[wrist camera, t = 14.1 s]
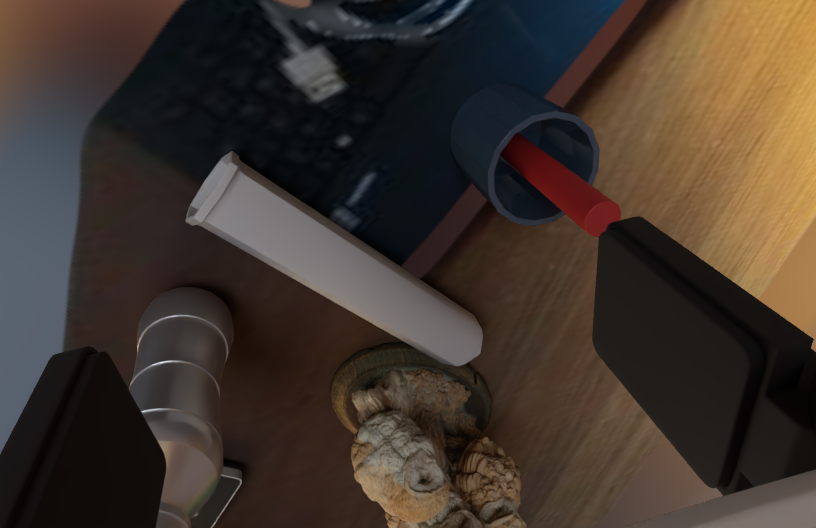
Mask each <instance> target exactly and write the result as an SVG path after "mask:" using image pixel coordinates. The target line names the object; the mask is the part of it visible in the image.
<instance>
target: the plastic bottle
mask: <svg viewBox="0 0 816 528" xmlns="http://www.w3.org/2000/svg"><path fill="white" fill-rule="evenodd" d="M233 339H234V327H233V322H232V318H231V314H230V311H229V309H228V307H227V306H226V305H225V303H224V302H223V301H222V300H221V299H220V298H219V297H217V296H216V295H214V294H213V293H211V292H208V291H206V290H203V289H199V288H195V287H181V288H175V289H171V290H168V291H166V292H164V293H162V294H160V295H159V296H158V297H156V298H155V299H154V300H153V301H152V302H151V304H150V305H149V306H148V308H147V309H146V311H145V312H144V313H143V315H142V317H141V319H140V322H139V326H138V334H137V358H136V364H135V369H134V375H133V378H132V381H131V383H130V387H129V391H130V393H131V395H132V396H133V398H134V400H135V402H136V404H137V405H138V407H139V409H140V411H141V413H142V414H143V416H144V418H145V420H146V421H147V423H148V425H149V427H150V429H151V430H152V432H153V434H154V436H155V437H156V439H157V441H158V443H159V445H160V446H161V448H162V450H163V452H164V455H165V459H166V475H165V480H164V486H163V491H162V496H161V502H160V507H159V513H158V518H157V523H156V528H191V521H190V519H191V518H192V517H193V516H194V515H195V514H196V513H197V512H198V511H199V510H200V509H201V508H202V506H203V505H204V504H205V503H206V502H207V501H208V499H209V498H210V497H211V495H212V494H213V492H214V491H215V488H216V486H217V484H218V482H219V479H220V477H221V474H222V471H223V447H222V436H221V427H220V417H219V400H220V384H221V379H222V375H223V370H224V366H225V362H226V360H227V358H228V356H229V353H230V350H231V346H232V343H233Z"/></svg>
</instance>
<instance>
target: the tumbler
mask: <svg viewBox="0 0 816 528" xmlns="http://www.w3.org/2000/svg"><path fill="white" fill-rule="evenodd" d="M516 133H519V134H521V135H522V136H524V137H525V138H526V139H528V140H529V141H530V142H532V143H533V144H535V145H536V146H537V147H539V148H540V149H541V150H543V151H544V152H546V153H547V154H548V155H550V156H551V157H553V158H554V159H555V160H557V161H558V162H559V163H561V164H562V165H564V166H565V167H566V168H568V169H569V170H571V171H572V172H573V173H575V174H576V175H577V176H579V177H580V178H582V179H583V180H584V181H586V182H587V183H588V184H590V185H591V186H592V184H593V181H594V179H595V177H596V174H597V172H598V164H599V146H598V144H597V141H596V138H595V135H594V133H593V130H592V129H591V128H590V127H589V126H588V125H587V124H586V123H585V122H584V121H582V120H581V119H580V118H579V117H578V116H576V115H574V114H573V113H571V112H569V111H567V110H565V109H563V108H561V107H560V106H558V105H556V104H554V103H552V102H550V101H548V100H546V99H545V98H543V97H541V96H539V95H537V94H535V93H533V92H531V91H530V90H528V89H526V88H523V87H520V86H517V85H514V84H509V83H498V84H492V85H489V86H486V87H484V88H481V89H480V90H478V91H476V92H475V93H473V94H472V95H471V96H470V97H469V98H468V99H467V100H465V102H464V103H463V104H462V105H461V107H460V108H459V110H458V111H457V113H456V115H455V117H454V119H453V122H452V125H451V130H450V149H451V152H452V156H453V158H454V160H455V162H456V163H457V165H458V166H459V167H460V169H461V171H462V172H463V173H464V174H465V175H466V177H467V178H468V179H469V180H470V181H471V182H472V183H473V184H474V186H475V187H476V188H477V189H478V190H479V191H480V192H481V193H482V194H483V196H484V197H485V198H486V199H487V200H488V201H489V202H490V203H491V205H492V206H493V207H494V208H495V209H496V210H497V211H498V212H499V213H500V214H501V215H503V216H504V217H506V218H507V219H509V220H510V221H512V222H513V223H517V224H523V225H530V226H536V225H541V224H545V223H549V222H553V221H556V220H557V219H559V218H561V217H562V216H564V215H565V213H564V212H563V211H562V210H561V209H559V208H558V207H557V206H556V205H555V204H554V203H553V202H552V201H550V200H549V199H548V198H547V197H546V196H545V195H544V194H542V193H541V192H540V191H539V190H538V189H537V188H536V187H534V186H533V185H532V184H531V183H530V182H529V181H528V180H526V179H525V178H524V177H523V176H522V175H521V174H520V173H519V172H517V171H516V170H515V169H514V168H513V167H512V166H511V165H509V164H508V163H507V162H506V161H505V160H504V159H503V158H501V157H500V154H501V152H502V150H503V149H504V148H505V147H506V145H507V144H508V143H509V142H510V140H511V139H512V138H513V136H514V135H515V134H516Z"/></svg>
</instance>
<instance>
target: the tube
mask: <svg viewBox="0 0 816 528" xmlns="http://www.w3.org/2000/svg"><path fill="white" fill-rule="evenodd" d="M185 221H186V222H187V223H189V224H191V225H192V226H193V225H196V224H197V225H199V226H201V227H203V228H205V229H207V230H209V231H210V232H212V233H214V234H216V235H217V236H219V237H221V238H223V239H224V240H226V241H228V242H230V243H232V244H233V245H235V246H237V247H239V248H240V249H242V250H244V251H246V252H247V253H249V254H251V255H253V256H254V257H256V258H258V259H260V260H261V261H263V262H265V263H267V264H268V265H270V266H272V267H274V268H275V269H277V270H279V271H281V272H282V273H284V274H286V275H288V276H290V277H291V278H293V279H295V280H297V281H298V282H300V283H302V284H304V285H305V286H307V287H309V288H311V289H312V290H314V291H316V292H318V293H319V294H321V295H323V296H325V297H326V298H328V299H330V300H332V301H333V302H335V303H337V304H339V305H340V306H342V307H344V308H346V309H348V310H349V311H351V312H353V313H355V314H356V315H358V316H360V317H362V318H363V319H365V320H367V321H369V322H370V323H372V324H374V325H376V326H377V327H379V328H381V329H383V330H384V331H386V332H388V333H390V334H391V335H393V336H395V337H397V338H398V339H400V340H402V341H404V342H406V343H407V344H409V345H411V346H413V347H414V348H416V349H418V350H420V351H421V352H423V353H425V354H427V355H428V356H430V357H432V358H434V359H435V360H437V361H439V362H441V363H442V364H447V365H453V366H460V365H464V364H466V363H468V362H469V361H471V360H472V359H474V358H475V357H476V356H478V355H479V354H480V352H481V346H482V340H483V333H482V328H481V327H480V325H479V323H478V321H477V320H476V318H475V316H474V315H473V314H471V313H470V312H468V311H467V310H465V309H464V308H462V307H461V306H459V305H458V304H456V303H455V302H453V301H452V300H450V299H449V298H447V297H446V296H444V295H443V294H441V293H440V292H438V291H437V290H435V289H434V288H432V287H431V286H429V285H427V284H426V283H424V282H423V281H421V280H420V279H418V278H417V277H415V276H414V275H412V274H411V273H409V272H408V271H406V270H405V269H403V268H402V267H400V266H399V265H397V264H396V263H394V262H393V261H391V260H390V259H388V258H387V257H385V256H384V255H382V254H381V253H379V252H378V251H376V250H374V249H373V248H371V247H370V246H368V245H367V244H365V243H364V242H362V241H361V240H359V239H358V238H356V237H355V236H353V235H352V234H350V233H349V232H347V231H346V230H344V229H343V228H341V227H340V226H338V225H337V224H335V223H334V222H332V221H331V220H329V219H328V218H326V217H324V216H323V215H321V214H320V213H318V212H317V211H315V210H314V209H312V208H311V207H309V206H308V205H306V204H305V203H303V202H302V201H300V200H299V199H297V198H296V197H294V196H293V195H291V194H290V193H288V192H287V191H285V190H284V189H282V188H281V187H279V186H278V185H276V184H275V183H273V182H271V181H270V180H268V179H267V178H265V177H264V176H262V175H261V174H259V173H258V172H256V171H255V170H253V169H252V168H250V167H249V166H247V165H246V164H244V163H243V162H242V161H240V160H239V155H237V154H236V153H234V152H233V151H231V152H230V153H228V154H227V155H225V156H224V157H222V158H221V159H220V161H219V162H218V163H217V165H216V166H215V168H214V169H213V170H212V172H211V173H210V174H209V176H208V177H207V178H206V180H205V181H204V183H203V184H202V186H201V188H200V189H199V191H198V193H197V195H196V196H195V198H194V200H193V201H192V203H191V205H190V206H189V209H188V213H187V217H186V220H185Z"/></svg>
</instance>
